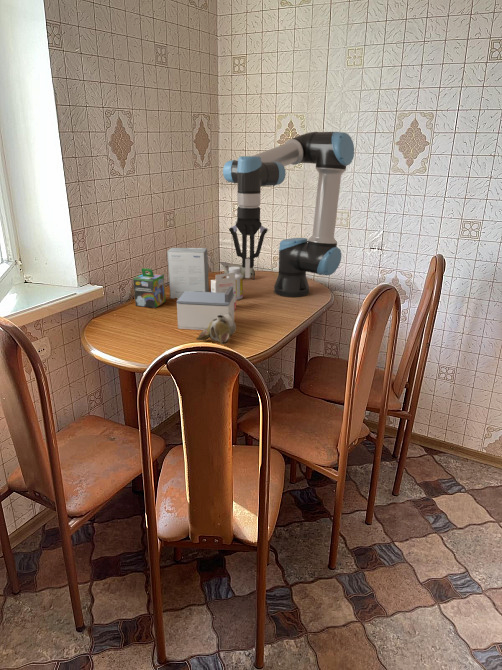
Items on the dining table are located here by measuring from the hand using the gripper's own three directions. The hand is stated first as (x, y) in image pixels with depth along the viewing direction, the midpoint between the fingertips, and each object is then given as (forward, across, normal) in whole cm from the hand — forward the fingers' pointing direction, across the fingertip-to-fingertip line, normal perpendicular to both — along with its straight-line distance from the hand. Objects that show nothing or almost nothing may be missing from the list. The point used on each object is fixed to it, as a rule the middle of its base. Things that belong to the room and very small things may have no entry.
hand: (247, 277), depth 173 cm
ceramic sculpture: (+19, +7, +13) cm, 24 cm away
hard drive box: (+18, +29, -32) cm, 47 cm away
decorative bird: (+18, +13, -64) cm, 67 cm away
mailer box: (+18, +15, 0) cm, 23 cm away
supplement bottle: (+18, +10, -33) cm, 39 cm away
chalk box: (+18, +42, -20) cm, 50 cm away
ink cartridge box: (+18, +12, -18) cm, 28 cm away
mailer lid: (+9, +15, 0) cm, 17 cm away
